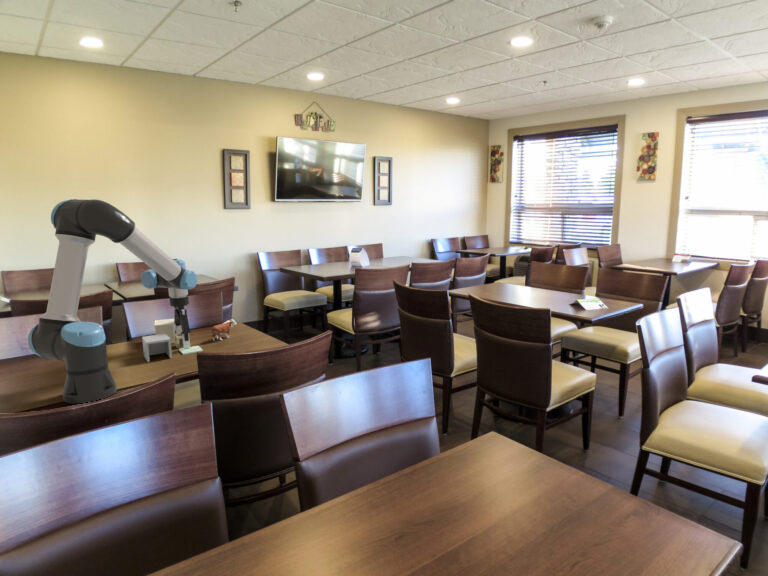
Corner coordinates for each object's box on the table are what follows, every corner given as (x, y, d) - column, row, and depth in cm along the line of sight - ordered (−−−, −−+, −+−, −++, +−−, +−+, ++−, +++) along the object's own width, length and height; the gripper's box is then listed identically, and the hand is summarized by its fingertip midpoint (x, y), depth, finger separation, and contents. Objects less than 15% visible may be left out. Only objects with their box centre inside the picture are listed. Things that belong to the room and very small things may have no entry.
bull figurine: (239, 335, 230) (238, 318, 229) (215, 342, 219) (214, 325, 218) (232, 334, 233) (231, 317, 231) (209, 341, 222) (207, 323, 220)
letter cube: (190, 346, 214) (189, 335, 213) (177, 348, 211) (176, 337, 210) (187, 343, 218) (186, 332, 217) (175, 345, 215) (174, 334, 214)
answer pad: (203, 351, 207) (203, 350, 207) (182, 354, 202) (182, 353, 202) (198, 346, 213) (198, 345, 213) (178, 350, 209) (178, 348, 209)
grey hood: (172, 358, 198) (170, 339, 197) (147, 362, 194) (145, 342, 192) (167, 351, 207) (165, 333, 205) (143, 355, 202) (142, 336, 200)
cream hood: (156, 345, 216) (176, 343, 219) (154, 325, 214) (174, 323, 217) (156, 339, 225) (175, 337, 228) (154, 320, 223) (173, 318, 226)
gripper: (194, 300, 202) (199, 349, 206) (182, 290, 223) (186, 335, 227) (175, 302, 198) (180, 353, 203) (164, 292, 219) (169, 338, 223)
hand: (183, 344), depth 215 cm, fingers open, 13 cm apart
